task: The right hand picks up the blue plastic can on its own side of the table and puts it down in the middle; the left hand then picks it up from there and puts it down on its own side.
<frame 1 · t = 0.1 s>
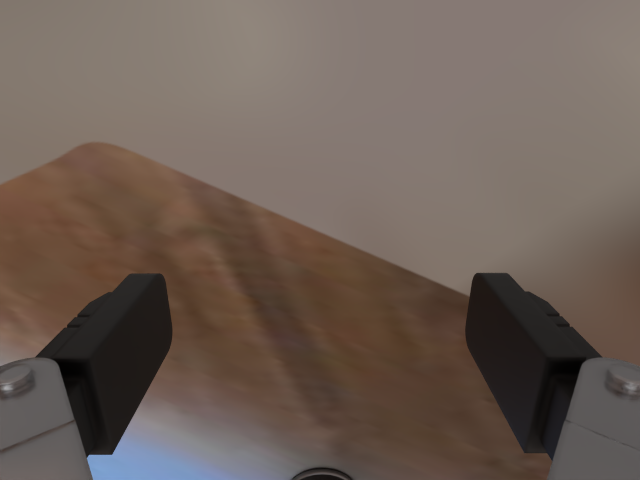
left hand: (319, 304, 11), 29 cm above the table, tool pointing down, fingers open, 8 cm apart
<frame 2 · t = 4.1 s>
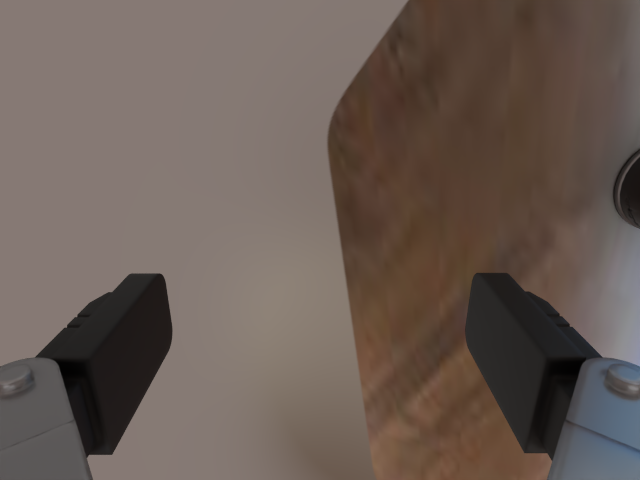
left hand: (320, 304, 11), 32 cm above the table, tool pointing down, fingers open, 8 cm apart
when the right hand's fingers open (3 cm above the table, at t = 11.1 s): can stays where it is, on the table.
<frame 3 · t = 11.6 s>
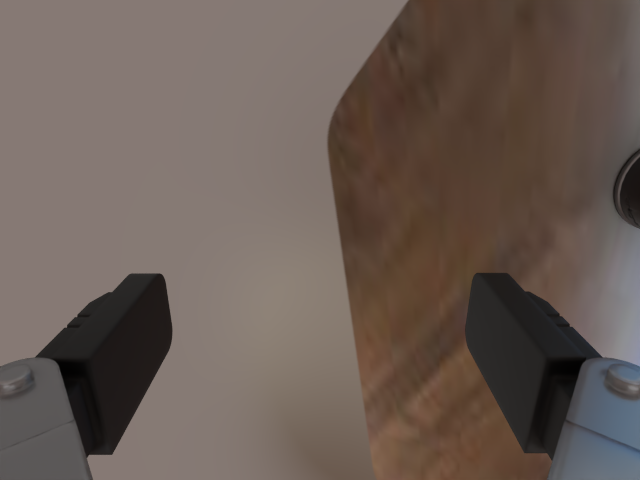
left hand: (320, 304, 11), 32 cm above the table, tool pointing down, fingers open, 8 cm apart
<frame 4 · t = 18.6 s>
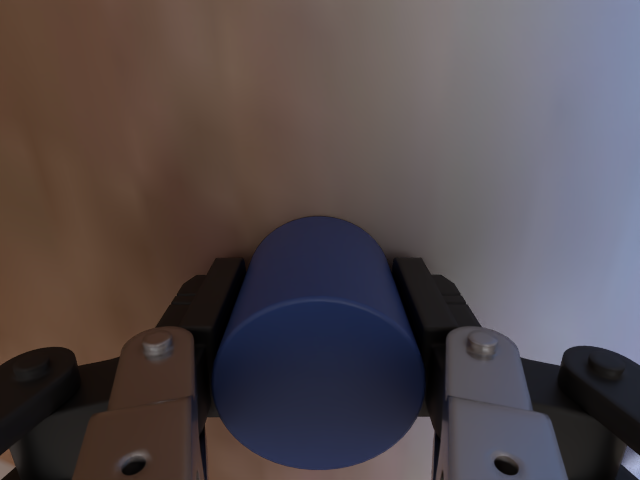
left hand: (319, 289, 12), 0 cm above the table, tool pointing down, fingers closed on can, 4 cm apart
can: (319, 282, 12), on the table, touching left hand
when the left hand's fingers open (1 cm above the table, at t = 22.4 s): can stays where it is, on the table.
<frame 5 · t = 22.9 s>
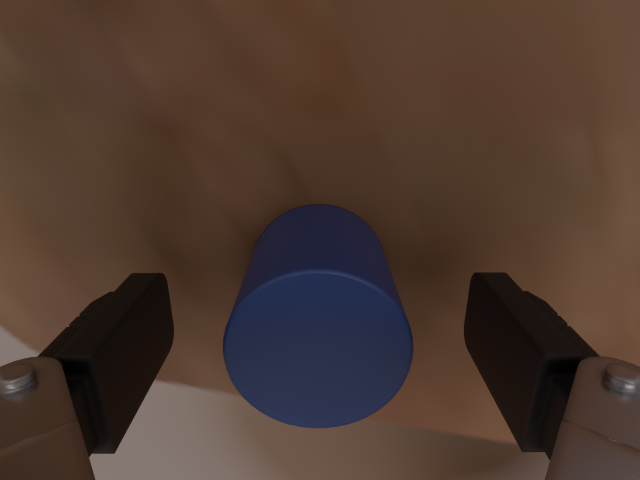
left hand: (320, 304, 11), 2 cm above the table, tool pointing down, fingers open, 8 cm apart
can: (318, 266, 13), on the table
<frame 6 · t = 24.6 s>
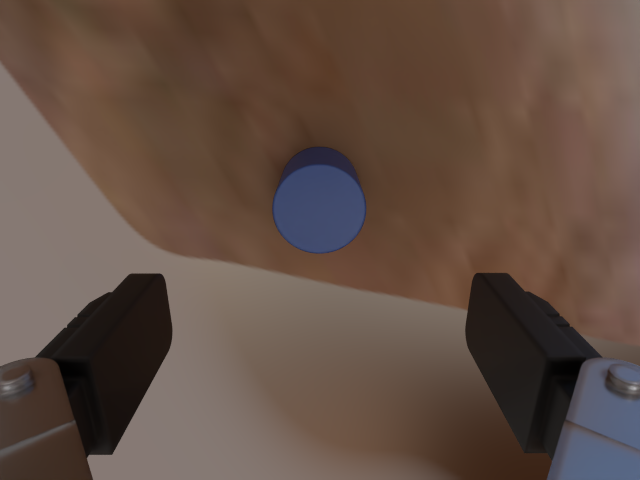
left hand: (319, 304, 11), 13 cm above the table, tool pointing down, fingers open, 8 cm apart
can: (319, 185, 23), on the table
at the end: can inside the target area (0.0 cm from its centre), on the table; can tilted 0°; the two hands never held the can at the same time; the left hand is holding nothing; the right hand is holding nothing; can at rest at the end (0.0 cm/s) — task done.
